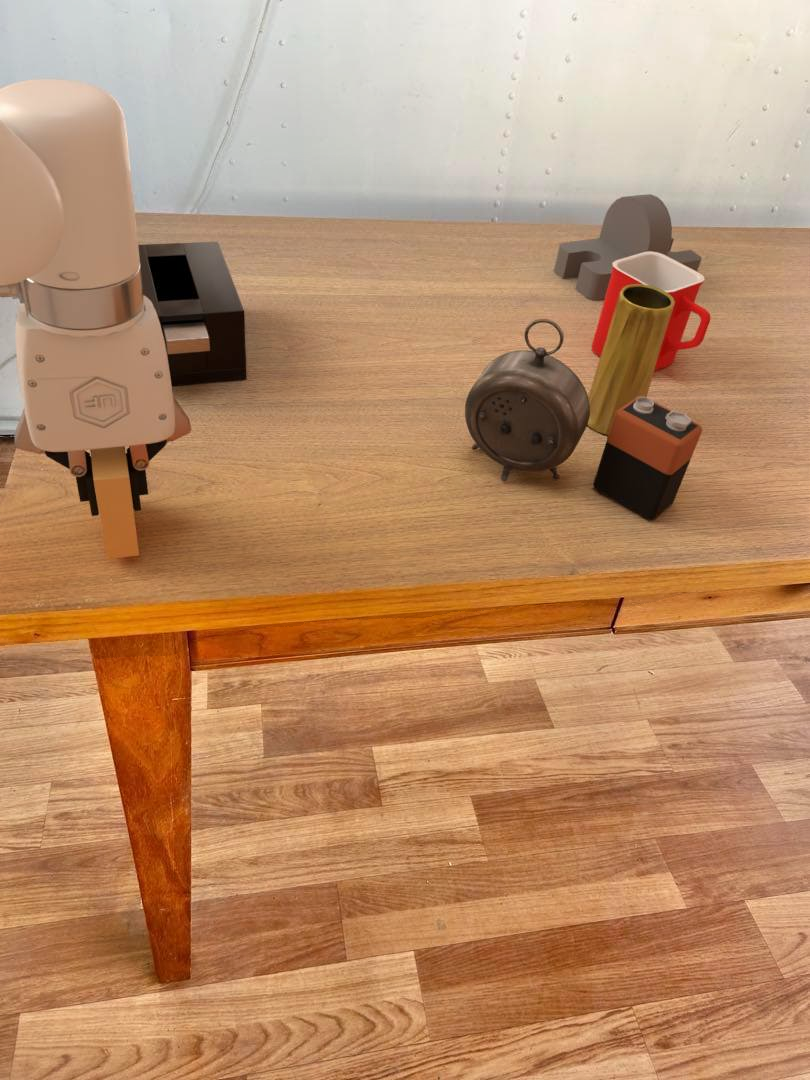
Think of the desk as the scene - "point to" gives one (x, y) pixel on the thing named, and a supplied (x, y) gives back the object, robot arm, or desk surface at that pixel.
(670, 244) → the bracket
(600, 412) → the vase
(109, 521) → the toast
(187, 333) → the lever
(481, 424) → the alarm clock
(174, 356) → the toaster
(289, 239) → the desk surface
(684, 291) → the mug
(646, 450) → the battery
